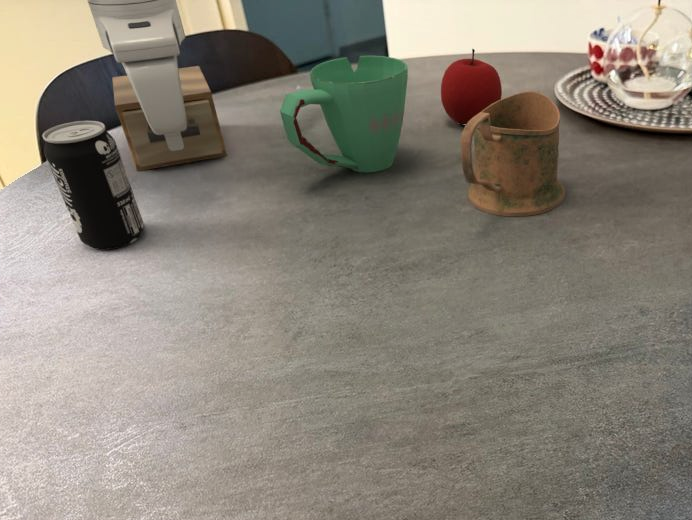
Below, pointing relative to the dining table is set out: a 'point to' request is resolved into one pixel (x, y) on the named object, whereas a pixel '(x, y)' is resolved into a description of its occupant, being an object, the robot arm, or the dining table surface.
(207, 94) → the cabinet
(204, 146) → the drawer
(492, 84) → the apple
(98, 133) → the beverage can
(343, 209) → the dining table surface
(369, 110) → the mug
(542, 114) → the mug
